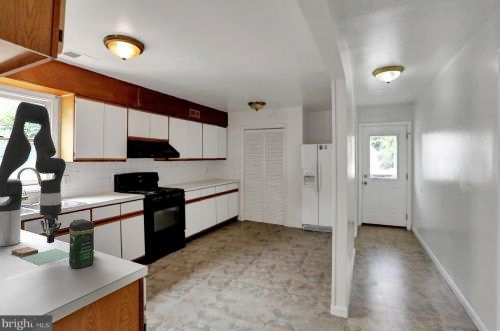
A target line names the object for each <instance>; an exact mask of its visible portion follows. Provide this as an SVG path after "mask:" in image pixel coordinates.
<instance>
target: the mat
mask: <svg viewBox="0 0 500 331" xmlns="http://www.w3.org/2000/svg"><path fill="white" fill-rule="evenodd" d="M66 258H69V251H65V250H61V249H57V248H52V249H48V250H43V251H41V252H40V251H39V252H38V253H35V254H32V255H28V256H24V257H21V256H19V259H21V260H23V261H26V262H27V263H31V264H33V265H36V266H42V265H45V264H49V263H53V262H56V261H59V260H63V259H66Z"/></svg>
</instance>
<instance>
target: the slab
mask: <svg viewBox="0 0 500 331" xmlns="http://www.w3.org/2000/svg"><path fill="white" fill-rule="evenodd" d="M36 253H39V248H38V249H37V248H34V247H31V246H24V247H19V248H16V249H12V250H11V254H12V255H15V256H18V257H24V256H28V255H32V254H36Z"/></svg>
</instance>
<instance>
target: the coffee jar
mask: <svg viewBox="0 0 500 331" xmlns="http://www.w3.org/2000/svg"><path fill="white" fill-rule="evenodd" d="M68 231H69V251H68V253H69V257H68V264H69V266H70V267H72V268H74V269H79V268H82V269H84V268H87V267H90V266H91V265H93V264H94V262H95V258H94V256H95V254H94V253H95V252H94V249H95V246H94V241H95V240H94V237H95V236H94V234H95V233H94V232H95V224H94V222H93V221H90V220H87V219H84V218H81V219H74V220H72V221H71V222H70V223H69V230H68Z"/></svg>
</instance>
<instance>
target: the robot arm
mask: <svg viewBox="0 0 500 331" xmlns="http://www.w3.org/2000/svg"><path fill="white" fill-rule="evenodd" d="M49 115H50V114H49V111H48V108H46V106H43V105H40V104H38V103H37V104H36V103H31V102H27V101H21V102H19V103H18V106H17V107H16V110H15V114H14V119H13V125H12V128H11V131H10V132H11V133H10V135H9V138H8V140H7V143H6V147H5V150H4V152H3V156H2V159H1V163H0V198H8V199H6V200H5V201H3V202H0V247H6V246H8V247H9V246H13V245H14V246H15V245H17V244H19V243H21V234H22V233H21V232H22V230H21V229H22V228H21V223H22V222H21V219H22V218H21V207H22V197H23V183H22V180H21V179H19V178H18V177H17V178H15V177H14V178H10V177H11V176H12V174H14V172H16V171H17V170H18V169H19V168H21V167H22V166H23V165H25V163H27V161H28V160H29V158H30V155H31V152H32V144H31V141H30V140H29V138H28V136H27V134H26V132H25V125H26V123H29V124H36V125H39V126H40V128H39V130H38V131H37V132H36V133H35V135H34V137H33V139H32V140H33V146H34V149H35V153H36V155H35V156H36V159H35V165H34V167H35V171H37V173H39V174H42V175H45V174H46V175H47V174H48V175H49V174H53V176H52V177H50V178H46V179H42V180H41V181H40V196H39V215H40V216H43V219H42V220H40V222H39V223H40V225H41V228H42V231H43V233H45V235H46V243H47V244H53V243H55V234H58V233H59V230H60V229H61V226H62V222H59V217H58V215H60V214H61V213H62V191H61V190H62V189H61V188H62V180H63V177H64V173H65V170H66V167H67V164H66V161H65V159H63V158H62V157H54V156H56V154H57V150H56V147H55V142H54V141H53V137H52V129H51V122H50V116H49Z"/></svg>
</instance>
